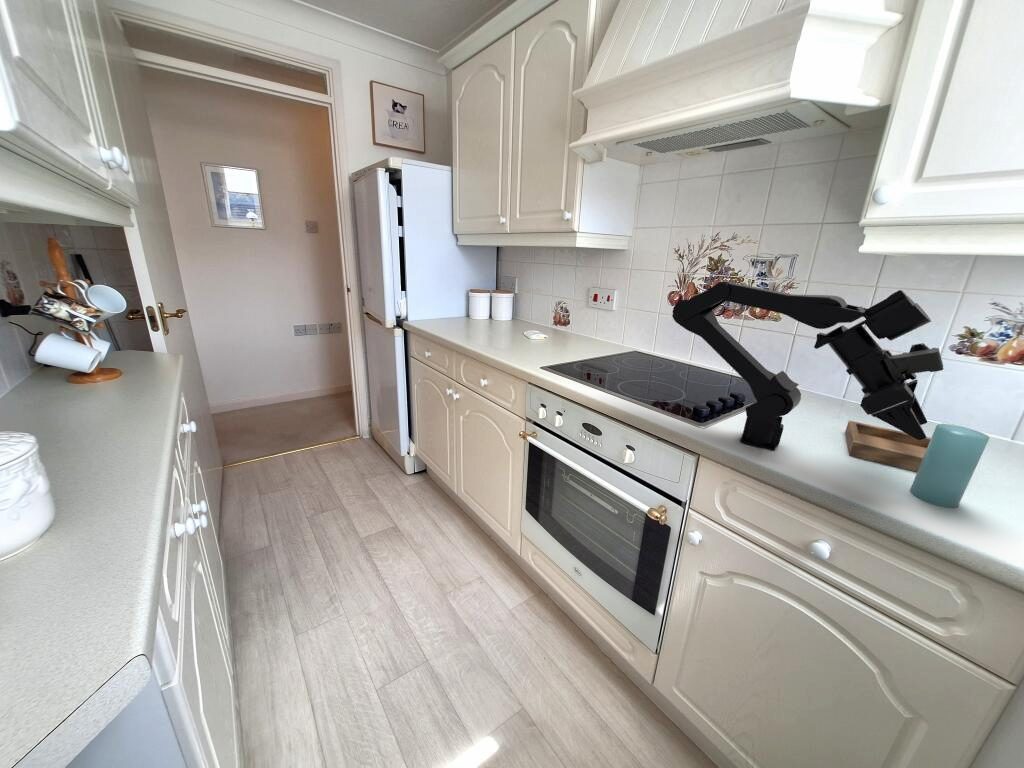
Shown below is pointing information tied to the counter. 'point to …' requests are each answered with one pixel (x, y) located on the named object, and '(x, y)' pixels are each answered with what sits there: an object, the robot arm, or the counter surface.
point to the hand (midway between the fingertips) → (923, 431)
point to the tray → (885, 445)
